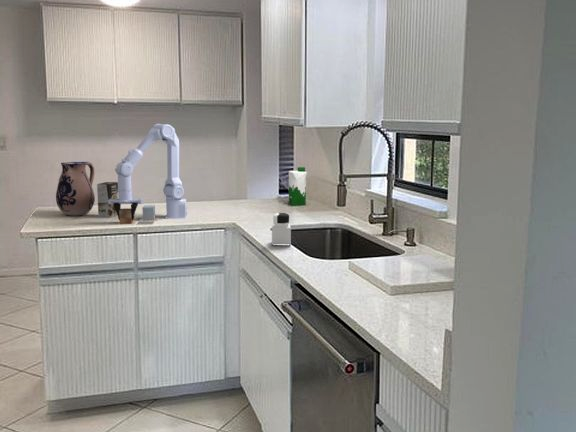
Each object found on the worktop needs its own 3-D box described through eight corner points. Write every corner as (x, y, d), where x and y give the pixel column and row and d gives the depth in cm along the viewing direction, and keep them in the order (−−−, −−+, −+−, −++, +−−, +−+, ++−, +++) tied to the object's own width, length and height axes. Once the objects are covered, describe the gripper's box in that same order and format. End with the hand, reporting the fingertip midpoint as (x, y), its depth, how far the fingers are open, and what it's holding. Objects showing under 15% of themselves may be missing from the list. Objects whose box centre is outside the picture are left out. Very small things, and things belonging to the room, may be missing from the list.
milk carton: (307, 205, 315) (308, 168, 311) (291, 206, 312) (291, 168, 308) (302, 203, 323) (302, 166, 319) (286, 203, 320) (286, 166, 317)
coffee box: (110, 218, 276) (109, 184, 272) (98, 218, 277) (96, 183, 274) (120, 215, 284) (118, 181, 281) (107, 214, 286) (106, 181, 283)
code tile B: (159, 218, 277) (159, 217, 277) (156, 221, 270) (156, 220, 269) (141, 218, 277) (141, 217, 277) (139, 221, 269) (139, 220, 269)
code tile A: (137, 221, 269) (137, 220, 269) (134, 225, 261) (134, 224, 261) (119, 221, 268) (119, 220, 268) (115, 225, 261) (115, 224, 261)
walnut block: (133, 221, 268) (132, 208, 266) (131, 223, 263) (130, 210, 262) (121, 221, 267) (121, 208, 266) (119, 223, 262) (119, 210, 261)
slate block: (155, 218, 276) (154, 205, 275) (154, 220, 271) (153, 207, 270) (144, 218, 275) (144, 205, 274) (142, 220, 270) (142, 207, 269)
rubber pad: (154, 221, 268) (154, 221, 268) (152, 225, 262) (152, 224, 262) (138, 222, 268) (138, 221, 268) (136, 225, 261) (136, 224, 261)
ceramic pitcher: (49, 216, 280) (45, 163, 275) (77, 209, 299) (74, 159, 295) (80, 218, 274) (77, 165, 270) (107, 211, 294) (104, 161, 290)
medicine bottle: (290, 241, 232) (290, 211, 229) (290, 246, 225) (291, 215, 222) (271, 242, 231) (271, 211, 229) (271, 246, 224) (272, 215, 222)
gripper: (106, 190, 257) (107, 221, 260) (140, 190, 259) (141, 221, 261) (109, 188, 264) (111, 218, 267) (142, 188, 266) (143, 218, 268)
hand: (126, 219), depth 265 cm, fingers closed on walnut block, 5 cm apart
